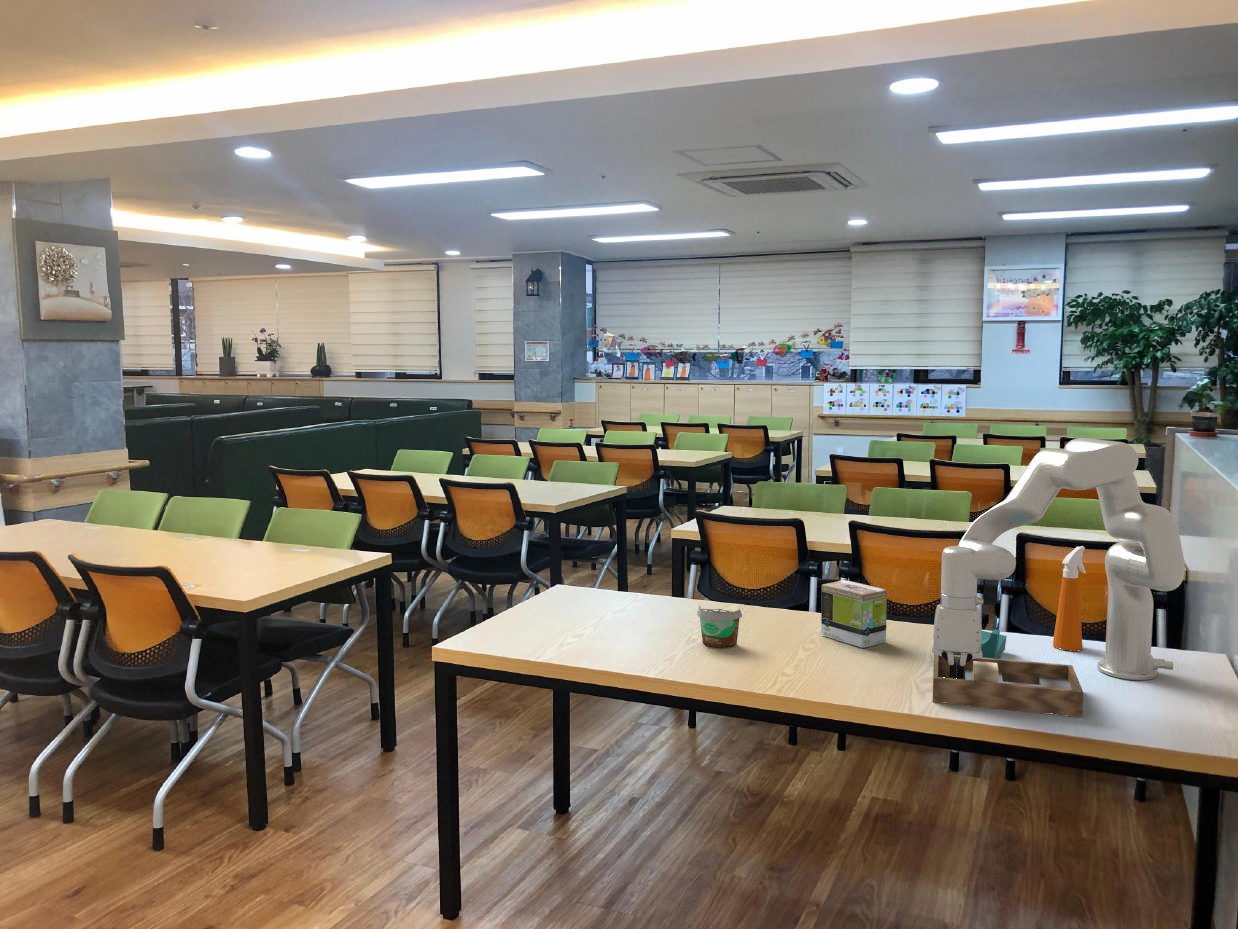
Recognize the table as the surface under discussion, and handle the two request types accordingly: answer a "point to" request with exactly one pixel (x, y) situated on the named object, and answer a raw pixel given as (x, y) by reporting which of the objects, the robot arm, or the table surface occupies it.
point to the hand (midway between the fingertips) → (956, 680)
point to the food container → (719, 627)
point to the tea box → (854, 613)
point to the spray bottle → (1070, 604)
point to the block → (985, 671)
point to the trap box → (1012, 687)
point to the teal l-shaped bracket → (991, 644)
